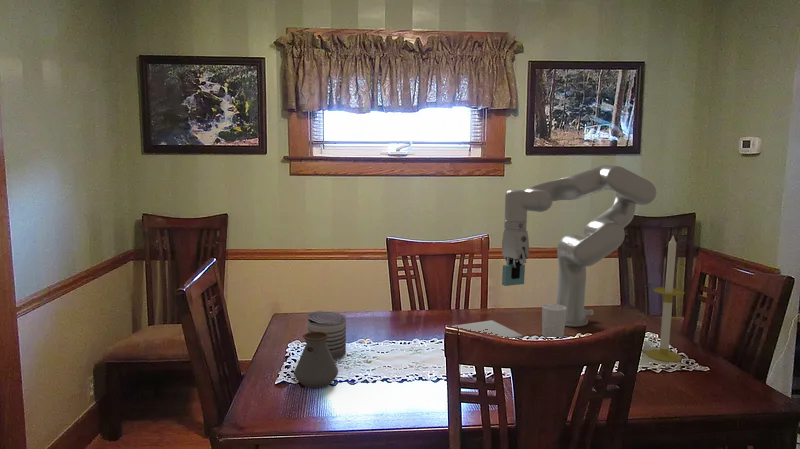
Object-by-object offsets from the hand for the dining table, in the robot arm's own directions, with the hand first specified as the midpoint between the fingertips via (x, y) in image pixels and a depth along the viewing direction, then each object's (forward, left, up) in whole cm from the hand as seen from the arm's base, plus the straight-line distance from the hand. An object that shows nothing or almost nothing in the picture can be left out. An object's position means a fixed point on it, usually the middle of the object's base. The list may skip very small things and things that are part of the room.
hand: (513, 277), depth 202 cm
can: (+69, +2, -17) cm, 71 cm away
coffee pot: (+80, +25, -17) cm, 85 cm away
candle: (-24, +44, -17) cm, 53 cm away
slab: (0, 0, -2) cm, 2 cm away
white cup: (-5, +16, -17) cm, 24 cm away
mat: (+14, +4, -17) cm, 23 cm away
